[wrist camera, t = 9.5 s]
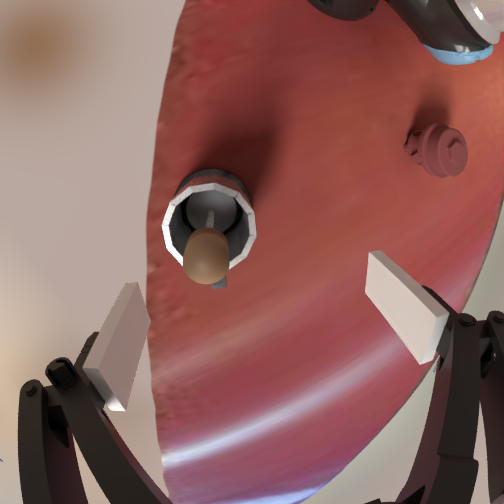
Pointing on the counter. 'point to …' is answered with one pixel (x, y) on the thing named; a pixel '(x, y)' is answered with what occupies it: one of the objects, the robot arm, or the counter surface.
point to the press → (236, 235)
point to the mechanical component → (438, 150)
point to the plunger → (208, 236)
